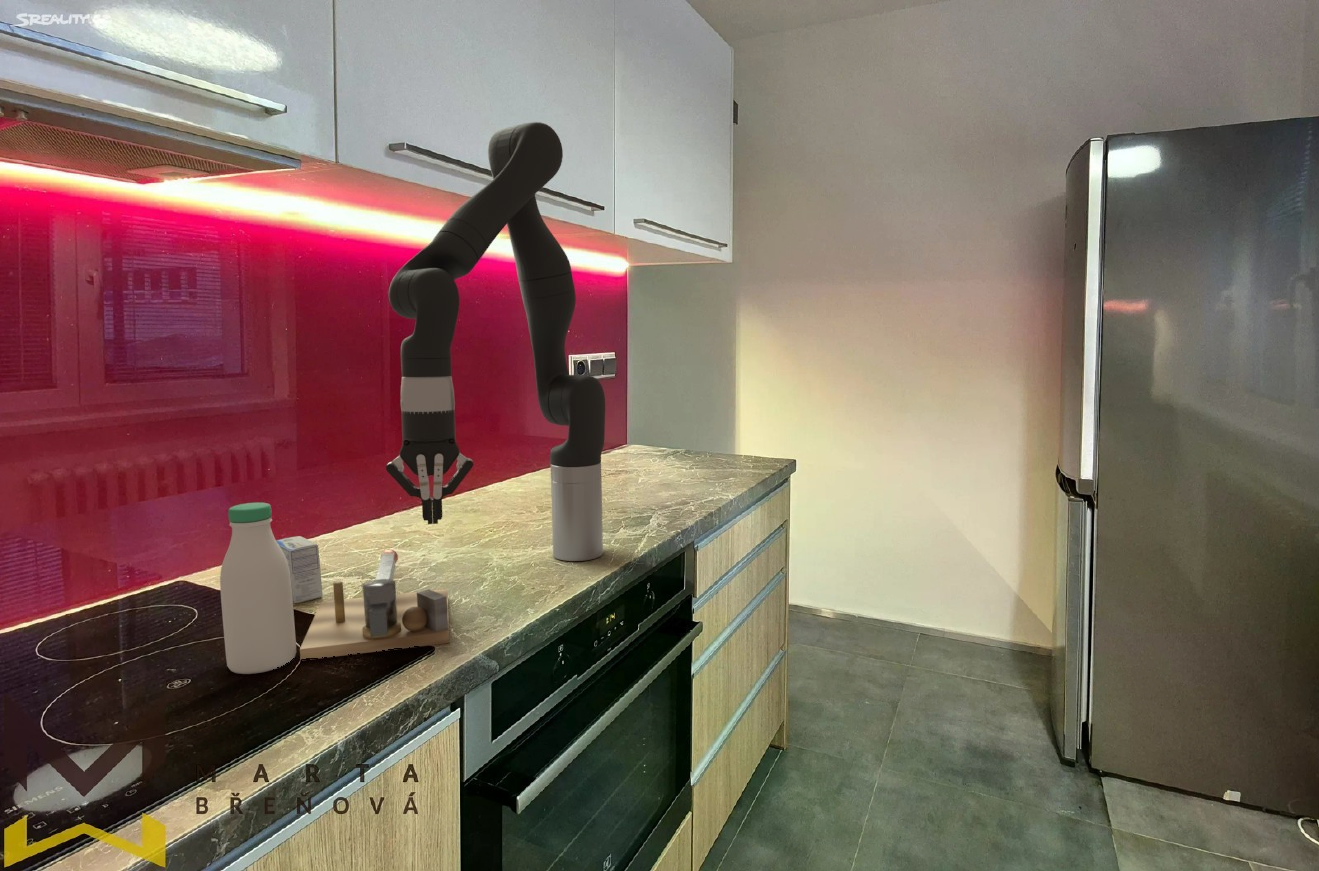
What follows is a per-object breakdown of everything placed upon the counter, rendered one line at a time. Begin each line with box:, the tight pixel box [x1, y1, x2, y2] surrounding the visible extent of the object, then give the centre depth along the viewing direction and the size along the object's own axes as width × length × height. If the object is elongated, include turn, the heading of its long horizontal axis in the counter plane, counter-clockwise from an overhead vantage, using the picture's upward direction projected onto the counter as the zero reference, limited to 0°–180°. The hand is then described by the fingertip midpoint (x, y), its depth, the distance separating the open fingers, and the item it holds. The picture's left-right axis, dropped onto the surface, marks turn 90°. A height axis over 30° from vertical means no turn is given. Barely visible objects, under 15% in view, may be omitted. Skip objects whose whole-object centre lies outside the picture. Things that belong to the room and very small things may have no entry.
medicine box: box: [276, 535, 324, 604], centre depth 118 cm, size 8×4×9 cm, turn 45°
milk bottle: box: [219, 502, 297, 675], centre depth 92 cm, size 8×8×20 cm
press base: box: [299, 580, 450, 660], centre depth 104 cm, size 18×18×7 cm
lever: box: [362, 549, 399, 637], centre depth 106 cm, size 25×4×5 cm, turn 16°
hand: (432, 522), depth 112 cm, fingers closed
